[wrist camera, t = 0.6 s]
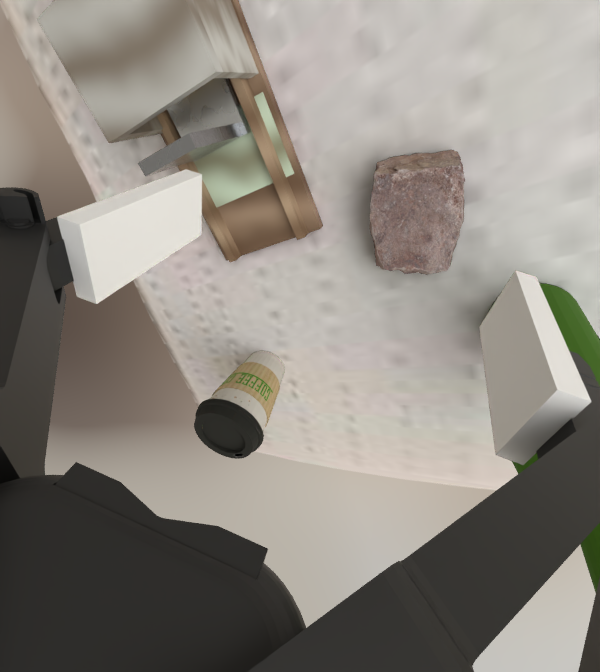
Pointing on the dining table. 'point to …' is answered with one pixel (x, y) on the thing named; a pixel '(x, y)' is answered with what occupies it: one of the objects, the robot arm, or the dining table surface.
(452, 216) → the stone
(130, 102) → the tunnel board
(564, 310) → the wine bottle
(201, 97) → the grey u-shaped piece
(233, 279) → the dining table surface
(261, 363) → the coffee cup
